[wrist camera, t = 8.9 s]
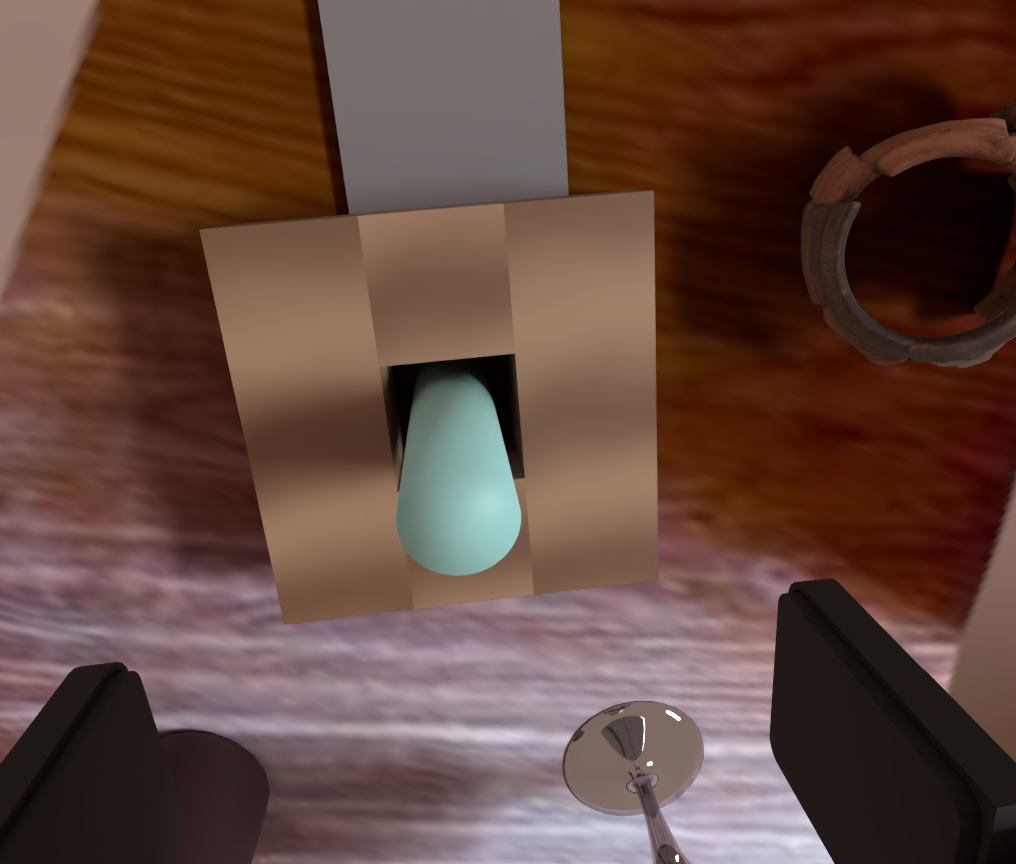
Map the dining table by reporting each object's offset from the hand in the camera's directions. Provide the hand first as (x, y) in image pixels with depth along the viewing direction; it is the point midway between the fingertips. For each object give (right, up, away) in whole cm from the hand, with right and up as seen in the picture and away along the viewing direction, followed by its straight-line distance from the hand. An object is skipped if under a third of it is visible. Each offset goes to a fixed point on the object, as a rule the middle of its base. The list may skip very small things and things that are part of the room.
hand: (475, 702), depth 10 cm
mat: (-2, +16, +14) cm, 22 cm away
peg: (-2, +6, +18) cm, 19 cm away
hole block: (-2, +6, +18) cm, 19 cm away
